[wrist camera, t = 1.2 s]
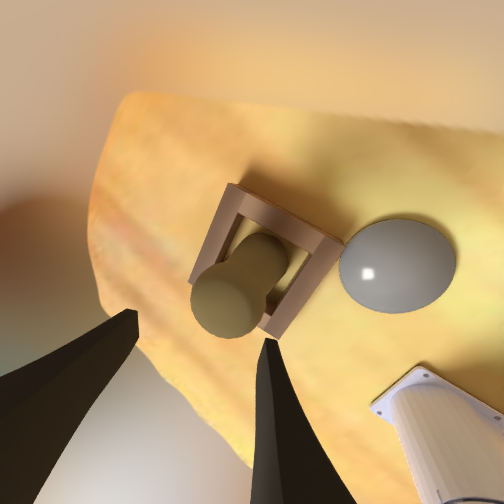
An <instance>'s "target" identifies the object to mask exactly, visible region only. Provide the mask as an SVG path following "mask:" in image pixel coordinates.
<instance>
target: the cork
mask: <svg viewBox="0 0 504 504" xmlns="http://www.w3.org/2000/svg"><path fill="white" fill-rule="evenodd" d="M287 267H288V255H287V252H286V249H285V247H284V246H283V244H282V243H281V242H280V241H279V240H278V239H276V238H275V237H274V236H271V235H268V234H265V233H256V234H253V235H250V236H248V237H246V238H245V239H244V240H242V242H241V243H240V244H239V245H238V247H237V248H236V249H235V250H234V252H233V253H232V254H231V255H230V256H229V258H228V259H227V260H226V261H225V262H221V263H218V264H214V265H212V266H210V267H209V268H207V269H206V270H205V271H203V272H202V273H201V274H200V275H199V277H198V278H197V280H196V281H195V283H194V285H193V286H192V292H191V298H190V302H191V309H192V312H193V314H194V316H195V319H196V320H197V321H198V323H199V324H200V325H201V326H202V327H203V328H204V329H205V330H206V331H208V332H209V333H211V334H213V335H215V336H217V337H220V338H226V339H232V338H238V337H242V336H244V335H246V334H248V333H250V332H251V331H252V330H253V329H254V328H255V327H256V326H257V325H258V324H259V322H260V321H261V319H262V317H263V314H264V311H265V308H266V295H267V294H268V293H269V292H270V291H271V289H272V288H273V287H274V286H275V285H276V284H277V282H278V281H279V280H280V279H281V278H282V276H283V275H284V274H285V273H286V270H287Z"/></svg>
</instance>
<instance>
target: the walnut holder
mask: <svg viewBox="0 0 504 504" xmlns="http://www.w3.org/2000/svg"><path fill="white" fill-rule="evenodd" d="M243 216H245V217H247V218H249V219H250V220H252V221H254V222H256V223H257V224H259V225H261V226H263V227H265V228H266V229H268V230H270V231H272V232H273V233H275V234H277V235H279V236H280V237H282V238H284V239H286V240H288V241H289V242H291V243H293V244H295V245H296V246H298V247H300V248H302V249H304V250H305V251H307V252H309V254H308V256H307V257H306V259H305V260H304V262H303V263H302V265H301V266H300V268H299V269H298V271H297V273H296V274H295V276H294V277H293V279H292V280H291V282H290V283H289V285H288V286H287V288H286V289H285V291H284V292H283V294H282V296H281V297H280V299H279V300H278V302H277V303H276V305H275V304H273V303H272V302H270V301H268V300H267V299H266V308H265V311H264V314H263V317H262V319H261V321H260V322H259V324H258V325H257V327H259V328H261V329H262V330H264V331H265V332H267V333H268V334H270V335H272V336H273V337H275V338H276V339H278V340H279V339H280V338H281V336H282V335H283V333H284V332H285V331H286V329H287V328H288V326H289V325H290V324H291V322H292V321H293V320H294V318H295V317H296V315H297V314H298V313H299V311H300V310H301V309H302V307H303V306H304V304H305V303H306V302H307V300H308V299H309V297H310V296H311V295H312V293H313V292H314V291H315V289H316V288H317V286H318V285H319V284H320V282H321V281H322V280H323V278H324V277H325V275H326V274H327V273H328V271H329V270H330V268H331V267H332V266H333V264H334V263H335V262H336V260H337V259H338V257H339V256H340V255H341V253H342V252H343V251H344V249H345V248H346V246H345V245H344V243H343V242H342V241H341V240H339V239H338V238H336V237H334V236H332V235H330V234H328V233H326V232H325V231H323V230H321V229H319V228H317V227H315V226H314V225H312V224H310V223H308V222H306V221H304V220H303V219H301V218H299V217H297V216H295V215H293V214H291V213H290V212H288V211H286V210H284V209H282V208H280V207H279V206H277V205H275V204H273V203H271V202H269V201H268V200H266V199H264V198H262V197H260V196H258V195H256V194H255V193H253V192H251V191H249V190H247V189H245V188H244V187H242V186H240V185H238V184H233V183H228V184H227V187H226V189H225V191H224V194H223V196H222V199H221V201H220V204H219V206H218V209H217V211H216V214H215V216H214V219H213V221H212V224H211V226H210V228H209V231H208V233H207V236H206V238H205V241H204V243H203V246H202V248H201V251H200V253H199V256H198V258H197V260H196V263H195V265H194V268H193V270H192V273H191V275H190V278H189V280H188V282H189V283H190V284H192V285H194V283H195V281H196V280H197V278H198V277H199V275H200V274H201V273H202V272H203V271H205V270H206V269H207V268H209V267H210V266H212V265H214V264H218V263H221V262H222V261H223V259H224V256H225V254H226V252H227V250H228V248H229V246H230V243H231V241H232V239H233V237H234V235H235V233H236V231H237V228H238V226H239V224H240V222H241V220H242V218H243Z"/></svg>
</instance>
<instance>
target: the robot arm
mask: <svg viewBox="0 0 504 504" xmlns="http://www.w3.org/2000/svg"><path fill="white" fill-rule="evenodd" d="M138 338H139V326H138V311H136V310H131V309H125V310H123V311H122V312H120V313H118V314H117V315H115V316H113V317H112V318H110V319H109V320H107V321H106V322H104V323H102V324H101V325H99V326H97V327H96V328H94V329H92V330H90V331H89V332H87V333H85V334H84V335H82V336H80V337H79V338H77V339H75V340H73V341H71V342H70V343H68V344H66V345H64V346H62V347H61V348H59V349H57V350H55V351H53V352H51V353H50V354H48V355H46V356H44V357H42V358H40V359H38V360H36V361H33V362H32V363H29V364H27V365H26V366H23V367H21V368H19V369H17V370H15V371H13V372H10V373H8V374H6V375H3V376H1V377H0V504H33V503H34V501H35V499H36V497H37V495H38V494H39V492H40V490H41V488H42V487H43V485H44V483H45V481H46V480H47V478H48V476H49V475H50V473H51V471H52V469H53V468H54V466H55V464H56V462H57V460H58V459H59V457H60V456H61V454H62V452H63V451H64V449H65V447H66V446H67V444H68V442H69V441H70V439H71V438H72V436H73V434H74V432H75V431H76V429H77V428H78V426H79V425H80V423H81V421H82V420H83V418H84V417H85V415H86V414H87V412H88V410H89V408H91V406H92V405H93V403H94V402H95V400H96V399H97V398H98V396H99V395H100V394H101V392H102V391H103V389H104V388H105V387H106V385H107V384H108V383H109V381H110V380H111V379H112V377H113V376H114V375H115V373H116V372H117V371H118V369H119V368H120V367H121V365H122V364H123V362H124V361H125V360H126V358H127V357H128V355H129V354H130V352H131V350H132V349H133V347H134V345H135V344H136V342H137V340H138ZM424 374H426V375H424ZM370 410H371V411H372V412H373V413H374V414H376V415H377V416H379V417H381V418H382V419H384V420H385V421H387V422H388V423H390V424H391V425H393V426H394V427H395V429H396V432H397V435H398V437H399V440H400V443H401V446H402V449H403V452H404V455H405V457H406V460H407V463H408V466H409V469H410V472H411V474H412V477H413V480H414V483H415V486H416V489H417V492H418V494H419V497H420V500H421V503H422V504H504V415H503V414H502V413H500V412H498V411H496V410H495V409H493V408H491V407H490V406H488V405H486V404H485V403H483V402H481V401H480V400H478V399H476V398H475V397H473V396H471V395H470V394H468V393H466V392H465V391H463V390H461V389H460V388H458V387H456V386H455V385H453V384H451V383H450V382H448V381H446V380H444V379H443V378H441V377H439V376H438V375H436V374H434V373H433V372H431V371H429V370H428V369H426V368H424V367H422V366H416V367H415V368H414V369H412V370H411V371H410V372H409V373H408V374H406V375H405V376H404V377H403V378H402V379H400V380H399V381H398V382H397V383H396V384H394V385H393V386H392V387H391V388H390V389H389V390H387V391H386V392H385V393H384V394H383V395H381V396H380V397H379V398H378V399H377V400H375V401H374V402H373V403H372V404H371V405H370ZM250 504H357V503H356V501H355V500H354V498H353V497H352V495H351V494H350V492H349V491H348V489H347V487H346V486H345V484H344V483H343V481H342V480H341V478H340V476H339V475H338V473H337V472H336V470H335V468H334V466H333V465H332V463H331V461H330V460H329V458H328V456H327V454H326V453H325V451H324V449H323V448H322V446H321V444H320V442H319V441H318V439H317V437H316V435H315V433H314V431H313V429H312V427H311V425H310V423H309V421H308V419H307V417H306V415H305V413H304V411H303V409H302V407H301V405H300V403H299V400H298V398H297V396H296V393H295V391H294V389H293V386H292V384H291V381H290V378H289V376H288V373H287V371H286V368H285V365H284V362H283V359H282V356H281V352H280V349H279V345H278V342H277V340H274V339H270V338H265V341H264V344H263V347H262V350H261V353H260V356H259V359H258V364H257V374H256V433H255V452H254V465H253V478H252V490H251V501H250Z"/></svg>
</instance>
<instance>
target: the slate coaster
mask: <svg viewBox="0 0 504 504" xmlns="http://www.w3.org/2000/svg"><path fill="white" fill-rule="evenodd" d="M455 267H456V261H455V255H454V251H453V249H452V247H451V245H450V243H449V242H448V240H447V239H446V238H445V237H444V236H443V235H442V234H441V233H440V232H438V231H437V230H436V229H434V228H432V227H430V226H428V225H426V224H423V223H420V222H416V221H412V220H406V219H392V220H385V221H380V222H377V223H374V224H372V225H369V226H367V227H366V228H364V229H362V230H361V231H359V232H358V233H356V234H355V235H354V236H353V237H352V238H351V239H350V240H349V242H348V243H347V244H346V248H345V249H344V251H343V252H342V253H341V256H340V260H339V275H340V278H341V282H342V284H343V286H344V288H345V290H346V291H347V293H348V294H349V295H350V296H351V297H352V298H353V299H354V300H355V301H356V302H357V303H359V304H360V305H362V306H364V307H366V308H368V309H371V310H374V311H377V312H382V313H392V314H396V313H406V312H411V311H415V310H418V309H420V308H423V307H425V306H427V305H429V304H431V303H432V302H434V301H435V300H436V299H438V298H439V297H440V296H441V295H442V294H443V293H444V292H445V291H446V290H447V288H448V287H449V285H450V283H451V281H452V279H453V276H454V273H455Z"/></svg>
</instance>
